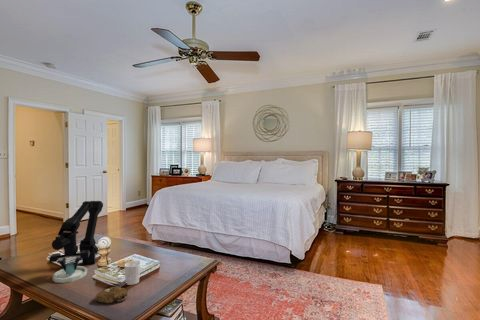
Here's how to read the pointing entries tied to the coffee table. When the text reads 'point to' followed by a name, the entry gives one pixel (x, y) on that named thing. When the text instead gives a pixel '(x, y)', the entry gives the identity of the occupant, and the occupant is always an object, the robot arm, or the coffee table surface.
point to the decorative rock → (111, 295)
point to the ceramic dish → (69, 275)
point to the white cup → (132, 272)
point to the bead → (70, 268)
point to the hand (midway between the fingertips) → (70, 270)
